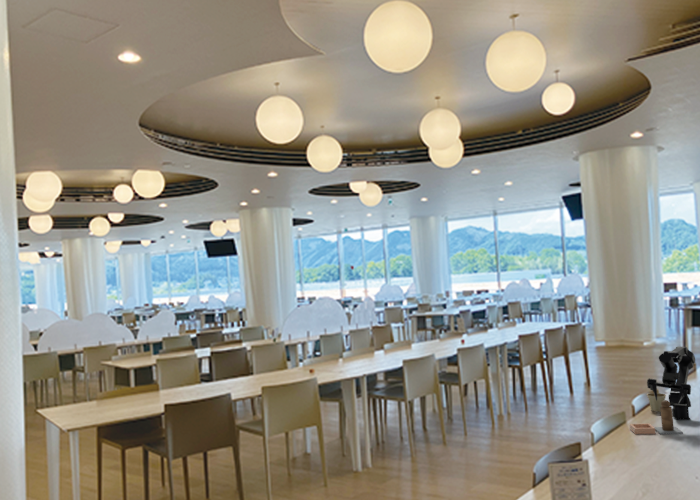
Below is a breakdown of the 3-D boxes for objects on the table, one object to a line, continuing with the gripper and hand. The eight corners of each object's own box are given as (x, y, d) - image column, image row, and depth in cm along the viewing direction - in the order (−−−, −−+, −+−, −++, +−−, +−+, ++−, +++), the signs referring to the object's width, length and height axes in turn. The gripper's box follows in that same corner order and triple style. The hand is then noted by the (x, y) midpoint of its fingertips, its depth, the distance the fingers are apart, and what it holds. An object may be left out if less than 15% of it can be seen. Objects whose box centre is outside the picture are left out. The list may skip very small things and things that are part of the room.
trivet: (675, 428, 285) (675, 426, 285) (683, 434, 275) (683, 432, 275) (653, 428, 287) (653, 427, 287) (660, 434, 277) (659, 432, 277)
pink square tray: (649, 428, 287) (649, 423, 287) (655, 433, 279) (655, 428, 279) (629, 429, 289) (629, 423, 289) (635, 433, 280) (634, 428, 280)
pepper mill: (669, 428, 283) (666, 398, 284) (676, 430, 279) (673, 400, 279) (660, 428, 283) (657, 399, 284) (666, 431, 278) (663, 401, 279)
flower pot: (663, 408, 326) (661, 392, 326) (670, 412, 316) (669, 395, 317) (645, 409, 326) (643, 393, 327) (652, 413, 317) (650, 396, 318)
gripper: (648, 362, 294) (644, 390, 286) (691, 368, 284) (689, 397, 276) (649, 373, 302) (645, 401, 294) (691, 379, 292) (689, 408, 284)
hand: (667, 402), depth 287 cm, fingers open, 9 cm apart
